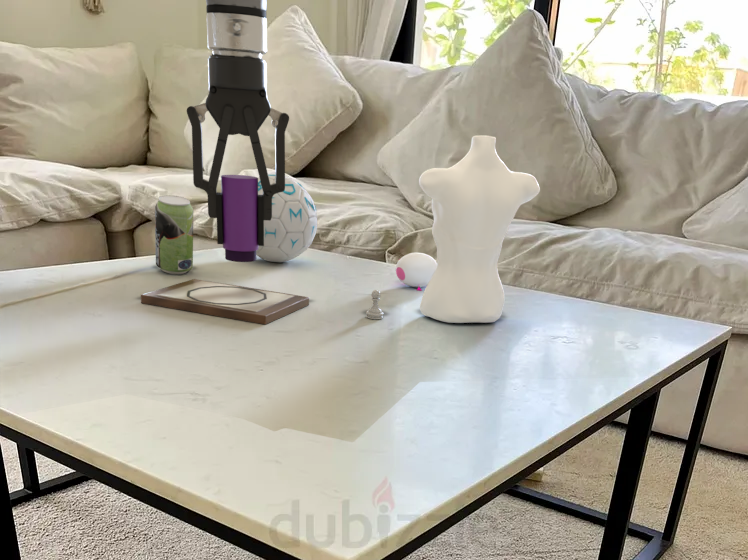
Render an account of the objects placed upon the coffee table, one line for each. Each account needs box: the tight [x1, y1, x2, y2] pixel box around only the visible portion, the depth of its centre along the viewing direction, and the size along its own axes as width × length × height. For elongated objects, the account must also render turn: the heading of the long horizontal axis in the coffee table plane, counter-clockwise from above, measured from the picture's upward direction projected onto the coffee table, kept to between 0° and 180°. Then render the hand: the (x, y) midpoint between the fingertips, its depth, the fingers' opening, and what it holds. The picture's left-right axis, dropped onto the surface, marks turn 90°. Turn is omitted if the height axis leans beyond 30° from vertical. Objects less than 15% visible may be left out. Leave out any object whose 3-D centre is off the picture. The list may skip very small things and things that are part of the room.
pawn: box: [365, 289, 384, 320], centre depth 113 cm, size 3×3×4 cm
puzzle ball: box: [256, 173, 318, 263], centre depth 144 cm, size 15×15×15 cm
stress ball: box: [395, 252, 437, 291], centre depth 135 cm, size 8×8×7 cm
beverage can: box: [154, 194, 194, 275], centre depth 129 cm, size 6×7×12 cm
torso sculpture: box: [418, 134, 541, 324], centre depth 112 cm, size 18×10×25 cm, turn 108°
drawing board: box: [140, 278, 310, 325], centre depth 115 cm, size 20×14×1 cm
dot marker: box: [220, 174, 259, 263], centre depth 110 cm, size 5×5×11 cm
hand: (240, 243), depth 111 cm, fingers closed on dot marker, 5 cm apart
